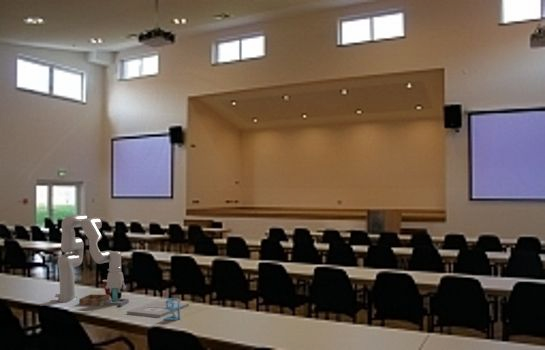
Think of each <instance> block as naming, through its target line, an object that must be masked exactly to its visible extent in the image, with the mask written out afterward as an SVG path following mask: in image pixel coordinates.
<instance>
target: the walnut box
mask: <svg viewBox="0 0 545 350" xmlns="http://www.w3.org/2000/svg"><path fill="white" fill-rule="evenodd" d="M110 299H111V297H110V295H106V294H100V293H99V294H97V293H96V294H87V295H85V296H83V297H81V298H79V306H101V305H103V303H104V302H106V301H108V300H110Z"/></svg>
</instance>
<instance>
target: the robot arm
mask: <svg viewBox="0 0 545 350" xmlns="http://www.w3.org/2000/svg"><path fill="white" fill-rule="evenodd" d="M102 225H103V223H102V220H101V219H100V218H99V217H96V216H93V215H90V214H85V213H83V214H72V215H71V214H70V215H67V216H65V217H63V219H62V220H61V240H60V241H61V243H60V249H61V251H62V252H63V253H65V254H61V255H60V256H59V257H58V259H57V267H58V272H59V276H58V277H59V293H55V296H54V297H55V298H57V302H60V303H68V302H71V301H73V300H76V299H77V298H78V297H77V296H76V293H75V292H76V291H75V289H76V288H75V287H76V285H75V271H74V269H73V268H75V267H79V266H80V265H81V264H82V263H83V259H84V247H85V246H84V245H85V244H84V241H83V239H82V238H80V237H76V231H75V229H74V228H81V229H82V230H83V232H84V233H85V235H86V237H87V240H88V241H89V246H88V248H89V254H90V256H91V257H92V259H93V261H94V262H95V263H96V264H99V265H101V264H104V263H109V265H108V266H109V268H107V271H108V273H107V279H106V280H107V285H106V287H105V288H106V289H108V291H109V292H110V299H112V288H118V291H119V293H118V299H122V292H123V291H124V290H125V289H126V288H127V286H126V285H125V282H124V281H125V279H124V273H123V272H122V252H121V251H117V250H116V251H113V250H104V251H100V249H99V247H98V242H99V241H101V239H102V238H103V234H101V232H100V229H101V228H102V227H103V226H102ZM105 288H104V289H105Z"/></svg>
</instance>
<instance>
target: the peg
mask: <svg viewBox="0 0 545 350" xmlns="http://www.w3.org/2000/svg"><path fill="white" fill-rule="evenodd" d="M118 293H119V291H118V288H112V302H111V303H120V302H121V301H120V299H121V298H120V299H118Z"/></svg>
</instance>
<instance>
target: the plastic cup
mask: <svg viewBox="0 0 545 350" xmlns="http://www.w3.org/2000/svg"><path fill="white" fill-rule="evenodd" d="M102 283H103V287H104V292H105V295H110V292H109V291H108V289H106V288H105V287H106V285H107V279H103V280H102Z"/></svg>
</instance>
